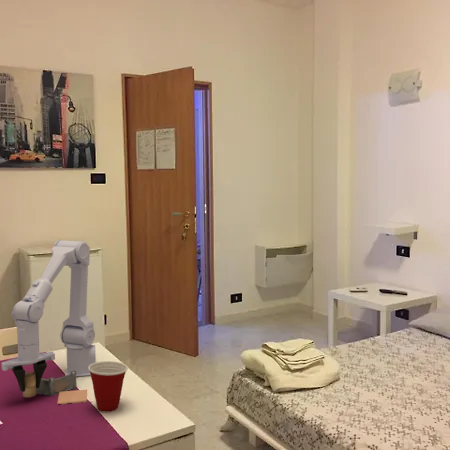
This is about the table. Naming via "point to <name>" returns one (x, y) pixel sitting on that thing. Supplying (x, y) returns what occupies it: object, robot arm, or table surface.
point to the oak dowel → (30, 384)
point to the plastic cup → (107, 383)
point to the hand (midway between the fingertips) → (29, 388)
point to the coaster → (72, 396)
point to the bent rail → (57, 384)
